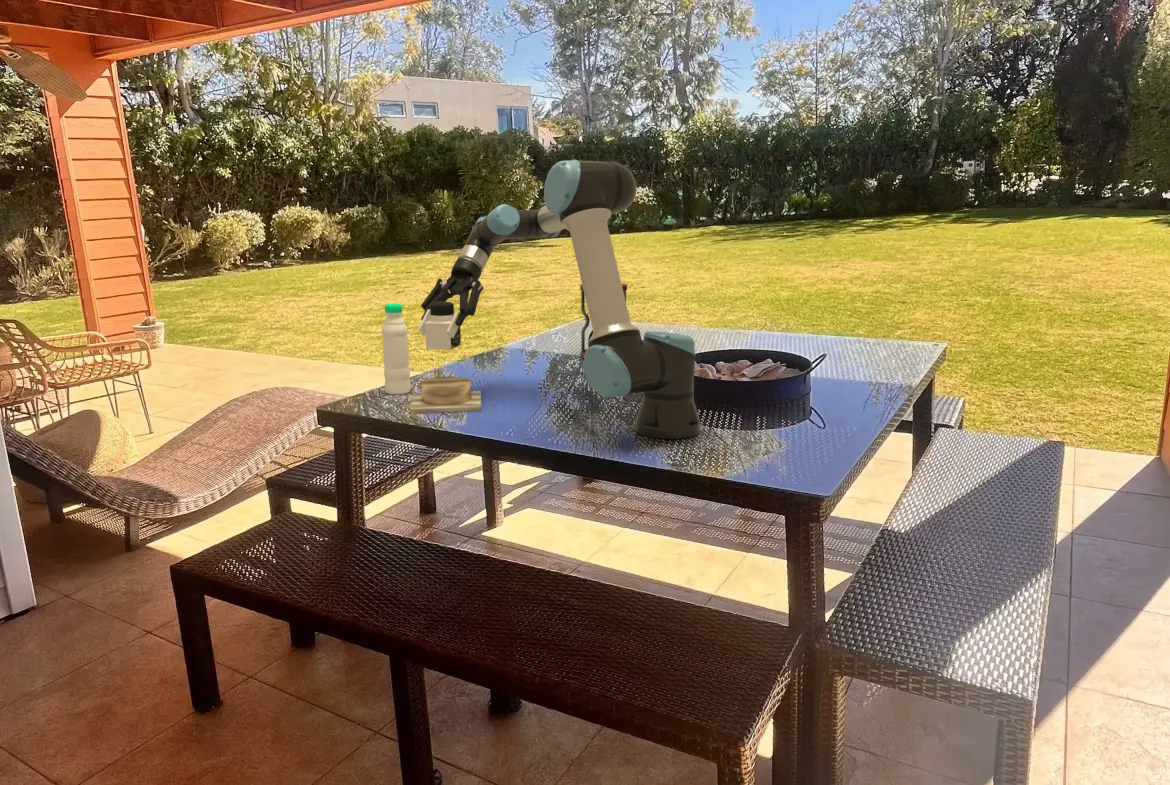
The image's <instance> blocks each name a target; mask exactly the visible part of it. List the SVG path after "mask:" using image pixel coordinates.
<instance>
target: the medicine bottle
mask: <svg viewBox="0 0 1170 785" xmlns="http://www.w3.org/2000/svg"><path fill="white" fill-rule="evenodd" d="M430 312H431V318H432V320H430V321H427V322H425V335H424V336H425V349H426V350H439V351H441V350H442V351H452V350H454V349H456V348H458V347H460V346H461V345H462V340H461V339H462V337H461V336H462V335H461V326H459V328H458V330H457V332H456V334H455V336H454V338H451V337H450V336H449V334H448V333H447V332H446V331H447V329H448V327H449V325H450V323H451V321H452V319H453V317H454V315H455V304H454V303H453V302H451V301H448V300H447V301H438V302H433V303H431V305H430Z"/></svg>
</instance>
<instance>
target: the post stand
mask: <svg viewBox="0 0 1170 785" xmlns="http://www.w3.org/2000/svg"><path fill="white" fill-rule="evenodd" d="M471 381H472V380H470V379H469V378H466V377H458V376H439V377H432V378H428V379H424V380H422V381H421V382H420V387H421V388H420V390H421V391H420V392H414V393H413V396H412V401H411V404H410V406H409V414H412V415H413V414H433V413H434V414H436V413H437V414H440V413H441V414H442V413H465V412H468V413H469V412H482V397H481V390H473V391H472V382H471Z"/></svg>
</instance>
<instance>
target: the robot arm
mask: <svg viewBox="0 0 1170 785" xmlns="http://www.w3.org/2000/svg"><path fill="white" fill-rule="evenodd" d="M543 194H544V195H543V198H544V204H545V205H544V206H542V207H540V208H538V209H516V208H515V207H513V206H511V205H509V204H507V203H506V204H505V203H503V204H499V205H498V206H496V207H495V208H494V209H491V211H490V212H489V213H488V214H487V215H485V216H480V217H479V218H478V219H477V220H476V222H475V224H474V225H472V228H471V229H472V230H471V231H470V234H469V235H468V236H467V237H468V238H467V239H466V241H465V244H464V246H463V248H462V249H461V250H460V252H459V254H458V256H457V258H456V260H455V263H454V264H453V266H452V268H451V272H450V276H449V277H448V278H447V279H446V280H442V278H438V279H437V281H436V283H435V286H434V287H433V288H432V289H431V291H430V292H429V293H428V295H427V296H426V297H425V299H424V301H423V302H422V303H421V304H420V307H421V308H422V310H423V311H424V312H423V315H422V316H421V318H420V320H421V322H420V324H419V325H418V327H417V331H418V332H420V334H421V335H422V336H426V335H425V322H427V321H430V320H432V318H431V312H430V305H431V303H433V302H438V301H448V300H450V299H452V298H453V297H454V296H459V308H458V310H459V311H458V310H457V311H455V312H454V317H453V319H452V321H451V323H450V325H449V327H448V329H447V331H446V332H447V333H448V334H449V336H450V337H451V338H454V336H455V334H456V332H457V330H458V328H459V326H460V327H461V326H462V325H463V324H464V321H465V319H466V318H467V317H468V316H470V317H473V316H475V313H476V310H477V307H478V303H479V299H480V295H481V293H482V291H483V290H484V286H483V284H482V283H481V281H480V280H479V279H480V278H481V276H482V272H483V271H484V269H485V267H486V266H487V263H488V261H489V259H490V257H491V255H492V253H493V251H494V250H495V248H496V247H497V246H498V245H500V243H501V242H504V240H513V239H515V240H517V239H540V238H541V239H549V238H557V237H558V236H559V235H560V233H561V232H562V231H563V230H566V231H568V232H569V234H570V238H571V242H572V246H573V251H574V256H575V259H576V260H575V261H576V264H577V267H578V272H579V276H580V281H581V284H582V286H583V290H584V294H585V303H586V307H587V310H588V316H589V319H590V324H591V327H592V328H591V329H592V330H593V335H592V336H591V338H590V340H589V346H590V348H589V347H588V349H587V348H586V350H587V351H586V352H585V354H584V359H583V361H582V367H583V372H584V375H585V378H586V380H587V383H588V384H589V386H590V387H591V389H593V391H595V392H596V393H597V395H600V396H602V397H605V398H611V397H612V398H613V397H614V398H615V397H620V398H621V397H624V396H627V395H633V394H639V393H643V394H642V395H643V398H642V401H641V404H640V407H639V409H638V413H637V416H636V419H635V432H636V433H638V434H639V435H642V436H644V437H649V438H654V439H660V440H661V439H662V440H678V439H679V440H680V439H687V438H692V437H695V436H697V435H699V434H700V432H701V421H700V416H699V414H698V409H697V407H696V403H695V400H694V392H695V391H694V390H695V388H694V387H695V367H696V365H695V364H696V362H695V361H696V350H695V344H696V343H695V340H694V339H693V337H691V336H689V335H687V334H681V333H674V332H667V331H653V330H651V331H650V330H649V331H646V332H645V333H644V334H643V335H644V336H643V338H642V335H641V331H640V329H639V328H638V327H636V326H634V325H633V324H632V322H631V318H630V313H629V310H628V306H627V300H626V301H625V297H624V293H623V288H622V284H623V283H622V281H621V277H620V273H619V269H618V264H617V259H616V255H615V251H614V247H613V243H612V238H611V235H610V230H609V226H608V221H609V219H610V218H611V216H612V215H615V214H618V213H620V212H623V211H625V210H626V209H627V210H628V208H629V207H630V206H631V204H633V202H634V201H635V198H636V195H637V181H636V179H635V176H634V174H633V173H632V171H630V169H629V168H628V167H626V166H625V165H624V164H621V163H619V162H615V161H608V160H607V161H601V160H597V161H596V160H577V159H570V160H561V161H557V162H556V163H555V164H554V165H552V167H551V169H550V170H549V171H548V173H547V176H546V179H545V182H544V186H543ZM469 292H470V293H469Z"/></svg>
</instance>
